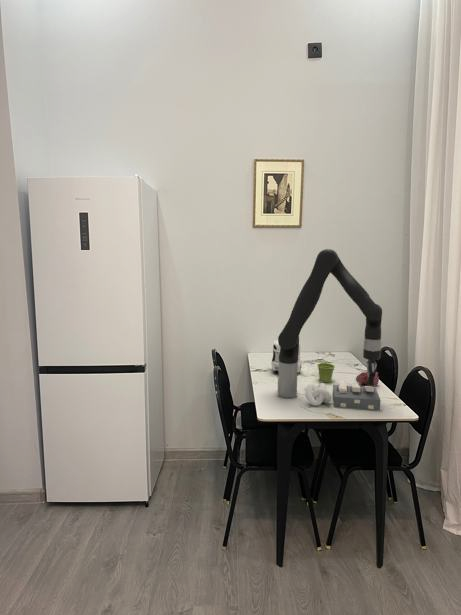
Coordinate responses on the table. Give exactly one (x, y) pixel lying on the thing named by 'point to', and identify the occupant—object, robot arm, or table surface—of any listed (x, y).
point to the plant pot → (325, 372)
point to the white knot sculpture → (317, 394)
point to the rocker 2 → (355, 387)
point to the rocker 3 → (369, 388)
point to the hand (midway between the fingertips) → (370, 384)
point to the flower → (366, 378)
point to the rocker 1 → (342, 387)
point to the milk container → (276, 357)
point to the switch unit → (356, 399)
